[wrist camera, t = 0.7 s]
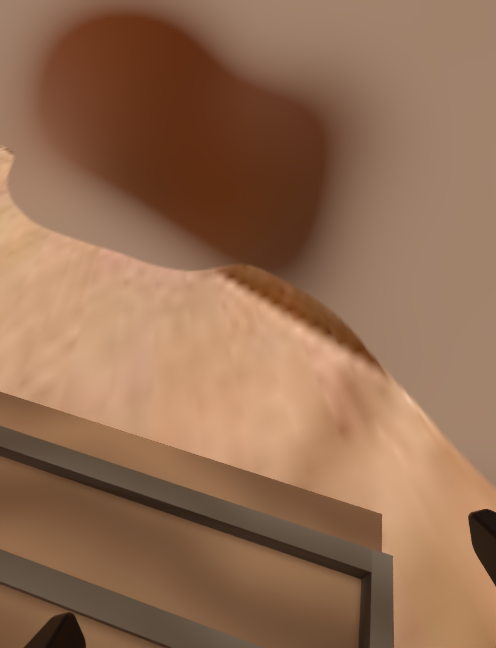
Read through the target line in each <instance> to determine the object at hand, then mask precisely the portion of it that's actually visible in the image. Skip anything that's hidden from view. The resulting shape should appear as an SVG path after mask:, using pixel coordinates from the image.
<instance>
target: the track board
mask: <svg viewBox="0 0 496 648" xmlns="http://www.w3.org/2000/svg"><path fill="white" fill-rule="evenodd" d="M67 612H72V613H73V614H74V615H75V617H76V619H77V621H78V624H79V626H80V628H81V630H82V633H83V635H84V637H85V641H86V648H394V622H393V556H391V555H388V554H385V553H382V514H380V513H376V512H373V511H370V510H367V509H364V508H361V507H358V506H355V505H351V504H348V503H345V502H342V501H339V500H336V499H333V498H330V497H327V496H323V495H320V494H317V493H314V492H311V491H308V490H305V489H302V488H298V487H295V486H292V485H289V484H286V483H283V482H280V481H277V480H274V479H270V478H267V477H264V476H261V475H258V474H255V473H252V472H249V471H245V470H242V469H239V468H236V467H233V466H230V465H227V464H224V463H221V462H217V461H214V460H211V459H208V458H205V457H202V456H199V455H196V454H192V453H189V452H186V451H183V450H180V449H177V448H174V447H171V446H168V445H164V444H161V443H158V442H155V441H152V440H149V439H146V438H143V437H139V436H136V435H133V434H130V433H127V432H124V431H121V430H118V429H114V428H111V427H108V426H105V425H102V424H99V423H96V422H93V421H90V420H86V419H83V418H80V417H77V416H74V415H71V414H68V413H65V412H61V411H58V410H55V409H52V408H49V407H46V406H43V405H40V404H37V403H33V402H30V401H27V400H24V399H21V398H18V397H15V396H12V395H8V394H5V393H2V392H0V648H24V647H25V646H26V644H27V643H28V642H29V641H30V640H31V639H32V638H33V637H34V636H35V635H36V634H37V632H38V631H39V630H40V629H41V628H42V627H43V626H44V625H45V624H46V623H47V622H48V621H49V620H50V619H51V618H52V617H53V616H55V615H59V614H63V613H67Z"/></svg>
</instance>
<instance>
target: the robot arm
mask: <svg viewBox="0 0 496 648" xmlns="http://www.w3.org/2000/svg"><path fill="white" fill-rule="evenodd" d="M468 519H469V526H470V533H471V540H472V545H473V548H474V551H475V553H476V555H477V557H478V558H479V560H480V561H481V563H482V565H483V566H484V568H485V570H486V571H487V573H488V575H489V576H490V578H491V579H492V581H493V583H494V584H495V586H496V512H494V511H492V510H489V509H483V510H479V511H475V512H471V513H470V514H469V516H468ZM24 648H86V641H85V637H84V635H83V633H82V630H81V628H80V626H79V624H78V621H77V619H76V617H75V615H74V614H73V613H72V612H67V613H63V614H59V615H55V616H53V617H52V618H51V619H50V620H49V621H48V622H47V623H46V624H45V625H44V626H43V627H42V628H41V629H40V630H39V631H38V632H37V634H36V635H35V636H34V637H33V638H32V639H31V640H30V641H29V642H28V643H27V644H26V646H25V647H24Z"/></svg>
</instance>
